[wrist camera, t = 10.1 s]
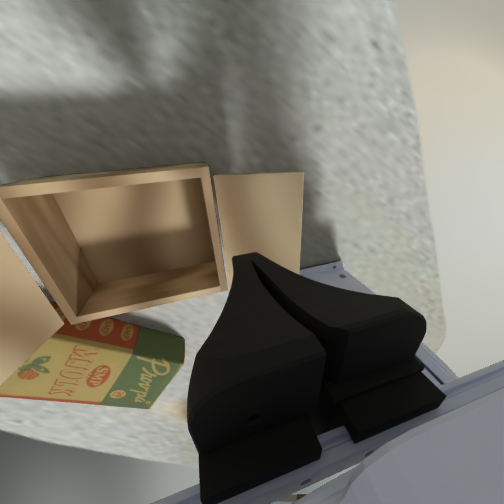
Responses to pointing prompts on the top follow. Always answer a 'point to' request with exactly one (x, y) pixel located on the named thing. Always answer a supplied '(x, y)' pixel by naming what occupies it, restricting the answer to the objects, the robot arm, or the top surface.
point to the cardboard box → (118, 237)
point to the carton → (99, 365)
